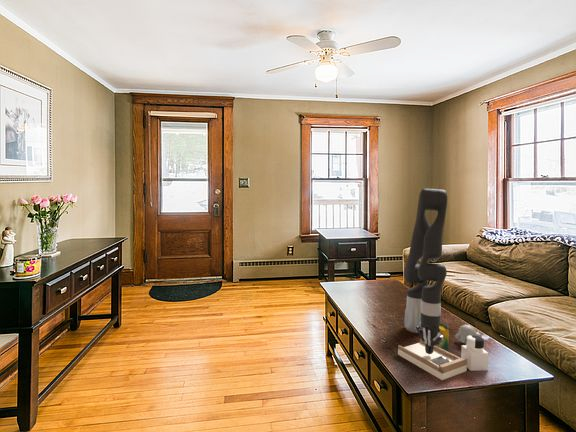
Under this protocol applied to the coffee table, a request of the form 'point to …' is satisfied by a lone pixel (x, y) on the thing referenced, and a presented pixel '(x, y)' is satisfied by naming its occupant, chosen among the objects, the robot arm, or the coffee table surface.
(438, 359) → the ball
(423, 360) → the cream shallow tray
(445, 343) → the crayon box
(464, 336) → the chubby cartoon animal
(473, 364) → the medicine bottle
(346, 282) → the coffee table surface
